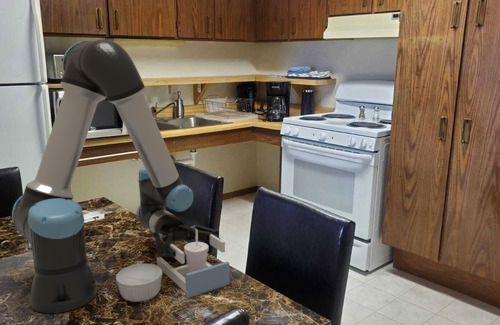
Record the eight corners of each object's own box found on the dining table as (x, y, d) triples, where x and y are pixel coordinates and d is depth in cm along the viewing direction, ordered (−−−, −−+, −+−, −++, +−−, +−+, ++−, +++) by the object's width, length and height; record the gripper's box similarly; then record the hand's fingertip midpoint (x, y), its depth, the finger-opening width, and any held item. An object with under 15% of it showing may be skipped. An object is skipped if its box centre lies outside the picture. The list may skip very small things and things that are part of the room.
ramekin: (116, 308, 101) (115, 287, 100) (117, 285, 112) (115, 266, 110) (165, 300, 104) (164, 280, 103) (161, 279, 115) (160, 261, 114)
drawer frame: (187, 298, 105) (187, 275, 104) (154, 267, 121) (153, 247, 120) (229, 284, 112) (229, 262, 111) (192, 256, 128) (192, 237, 127)
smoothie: (211, 275, 117) (210, 226, 114) (206, 287, 110) (205, 236, 107) (187, 274, 117) (186, 225, 114) (181, 286, 111) (180, 234, 108)
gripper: (202, 229, 133) (242, 255, 116) (128, 247, 120) (161, 279, 103) (201, 206, 132) (242, 228, 114) (127, 222, 119) (159, 249, 101)
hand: (204, 252), depth 108 cm, fingers open, 11 cm apart
